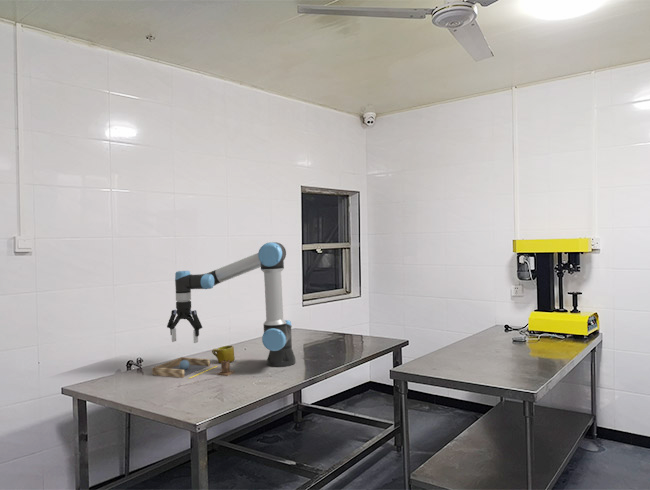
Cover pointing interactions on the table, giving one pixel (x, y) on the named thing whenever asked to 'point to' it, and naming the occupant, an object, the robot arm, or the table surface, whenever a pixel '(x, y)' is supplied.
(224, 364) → the tee
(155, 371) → the wooden u-shaped frame
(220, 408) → the table surface
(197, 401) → the table surface
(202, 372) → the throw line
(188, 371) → the mat
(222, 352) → the mug
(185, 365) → the ball
